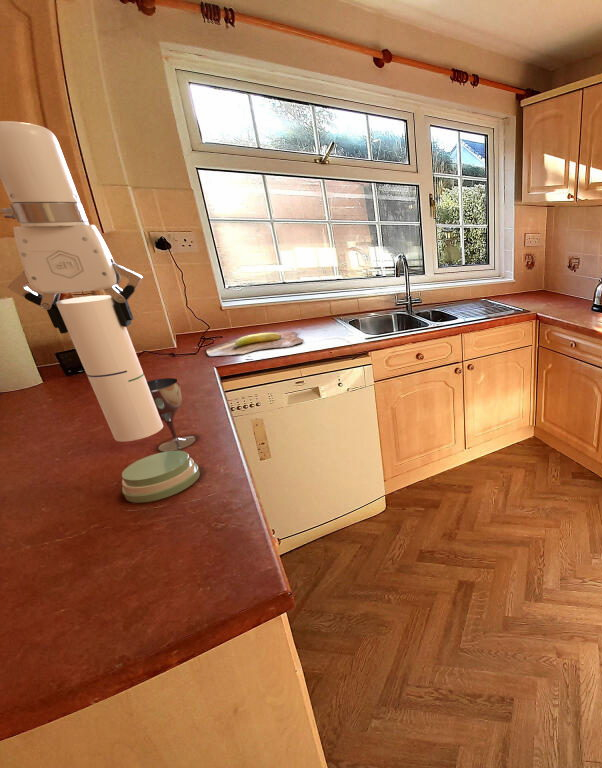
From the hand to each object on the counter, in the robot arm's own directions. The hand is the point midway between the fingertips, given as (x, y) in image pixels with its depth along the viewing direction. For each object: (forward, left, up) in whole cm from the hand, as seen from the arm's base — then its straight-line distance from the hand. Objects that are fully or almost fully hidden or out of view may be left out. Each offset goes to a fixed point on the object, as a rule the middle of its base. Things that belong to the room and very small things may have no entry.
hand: (97, 327), depth 72 cm
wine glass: (-12, +14, -32) cm, 37 cm away
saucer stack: (0, 0, -32) cm, 32 cm away
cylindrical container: (0, 0, -20) cm, 20 cm away
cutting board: (-54, +89, -32) cm, 109 cm away
